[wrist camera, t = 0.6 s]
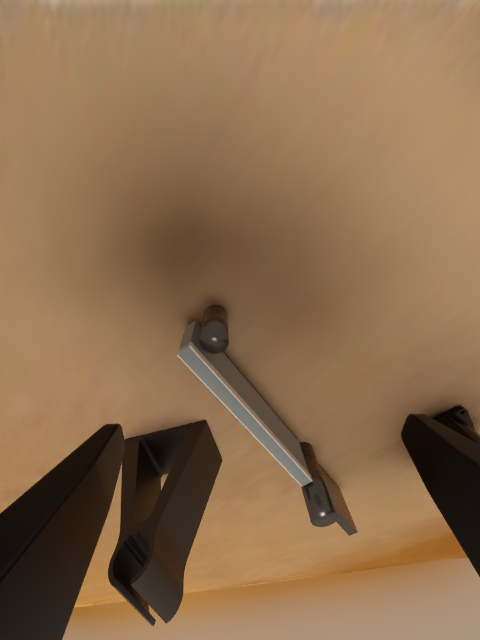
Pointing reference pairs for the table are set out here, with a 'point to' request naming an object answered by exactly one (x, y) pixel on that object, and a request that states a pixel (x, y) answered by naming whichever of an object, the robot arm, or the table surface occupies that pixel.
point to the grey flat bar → (243, 403)
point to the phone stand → (161, 514)
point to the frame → (322, 490)
